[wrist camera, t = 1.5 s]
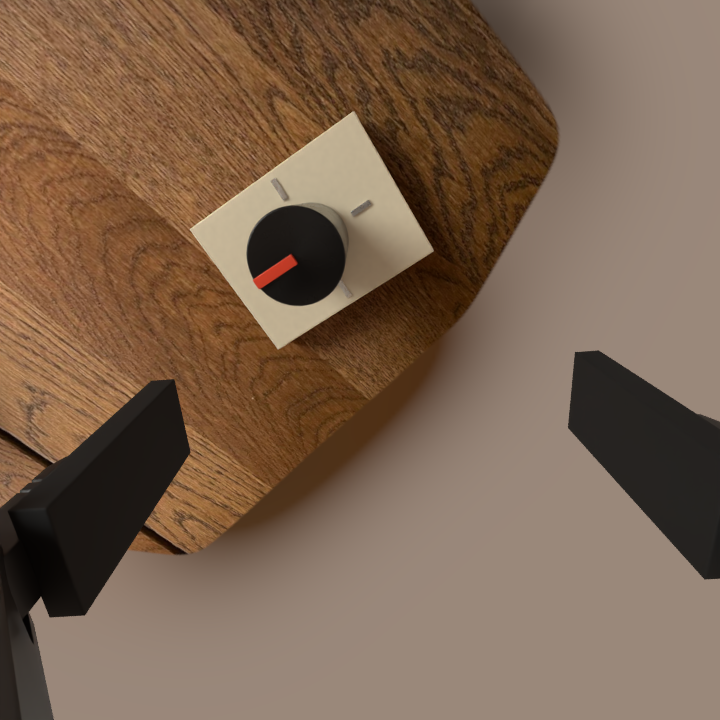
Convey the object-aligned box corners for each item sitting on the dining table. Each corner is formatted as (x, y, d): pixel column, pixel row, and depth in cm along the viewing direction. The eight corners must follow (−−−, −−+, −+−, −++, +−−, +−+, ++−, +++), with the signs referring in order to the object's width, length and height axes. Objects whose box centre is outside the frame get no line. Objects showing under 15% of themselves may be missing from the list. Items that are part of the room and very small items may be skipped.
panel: (354, 118, 31) (353, 110, 28) (428, 246, 34) (434, 251, 31) (203, 226, 33) (188, 229, 30) (284, 337, 36) (277, 350, 33)
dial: (322, 187, 30) (307, 184, 21) (362, 251, 31) (364, 274, 22) (262, 229, 30) (223, 243, 22) (304, 289, 32) (283, 325, 23)
